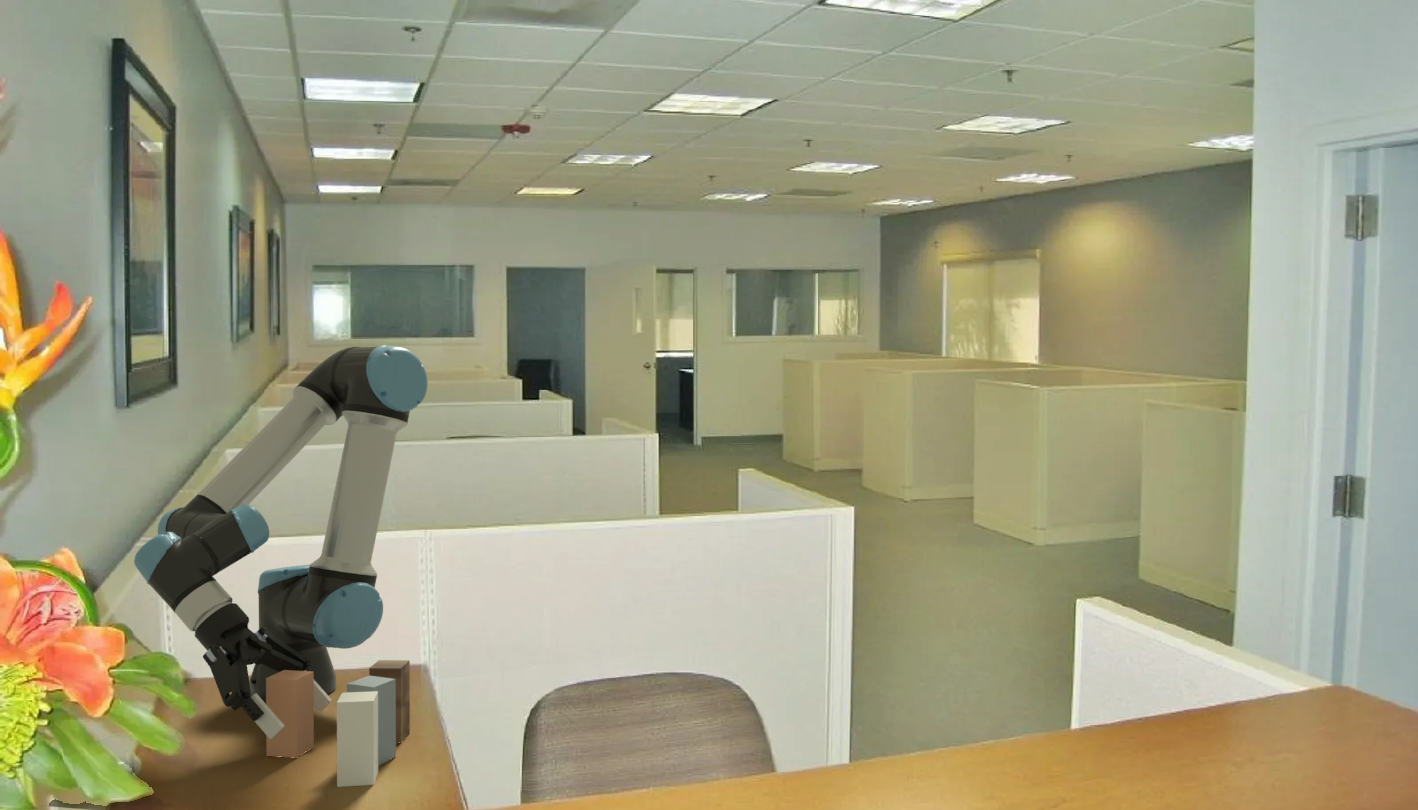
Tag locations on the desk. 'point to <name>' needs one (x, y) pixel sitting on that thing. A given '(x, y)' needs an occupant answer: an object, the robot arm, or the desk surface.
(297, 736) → the terracotta block
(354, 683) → the slate-grey block
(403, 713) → the walnut block
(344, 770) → the off-white block
